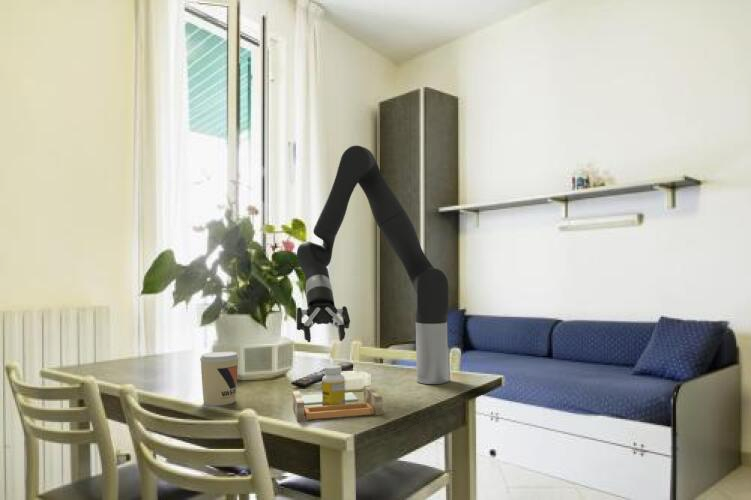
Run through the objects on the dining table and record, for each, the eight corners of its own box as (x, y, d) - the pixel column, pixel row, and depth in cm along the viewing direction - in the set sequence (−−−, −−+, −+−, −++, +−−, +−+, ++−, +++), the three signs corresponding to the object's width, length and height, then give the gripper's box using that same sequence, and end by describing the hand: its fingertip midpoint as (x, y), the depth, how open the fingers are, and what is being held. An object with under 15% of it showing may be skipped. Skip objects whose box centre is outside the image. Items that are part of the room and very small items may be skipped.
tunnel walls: (292, 407, 124) (292, 390, 124) (369, 401, 129) (369, 385, 129) (297, 421, 112) (297, 403, 112) (382, 414, 117) (382, 396, 117)
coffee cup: (224, 407, 125) (224, 357, 126) (192, 405, 128) (192, 356, 129) (245, 398, 134) (245, 352, 135) (215, 396, 137) (215, 350, 138)
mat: (299, 397, 134) (299, 395, 134) (351, 393, 138) (351, 392, 138) (302, 404, 127) (302, 403, 127) (358, 400, 130) (358, 399, 130)
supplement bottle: (319, 406, 125) (319, 365, 126) (341, 404, 127) (340, 363, 127) (325, 411, 120) (325, 369, 120) (348, 409, 122) (347, 367, 122)
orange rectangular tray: (303, 414, 118) (303, 407, 118) (367, 409, 121) (367, 402, 122) (306, 420, 113) (306, 413, 113) (373, 415, 116) (373, 408, 116)
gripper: (295, 285, 143) (299, 331, 131) (345, 284, 146) (354, 329, 135) (293, 303, 148) (297, 349, 136) (342, 302, 151) (350, 347, 140)
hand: (325, 339), depth 136 cm, fingers open, 8 cm apart
